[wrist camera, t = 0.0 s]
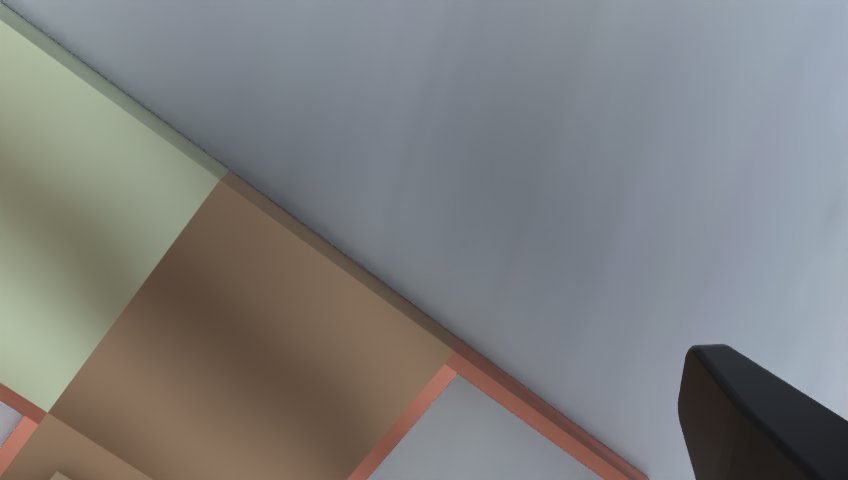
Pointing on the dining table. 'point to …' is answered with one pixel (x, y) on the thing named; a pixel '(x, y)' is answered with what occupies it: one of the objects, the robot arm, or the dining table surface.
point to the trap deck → (194, 308)
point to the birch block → (59, 476)
